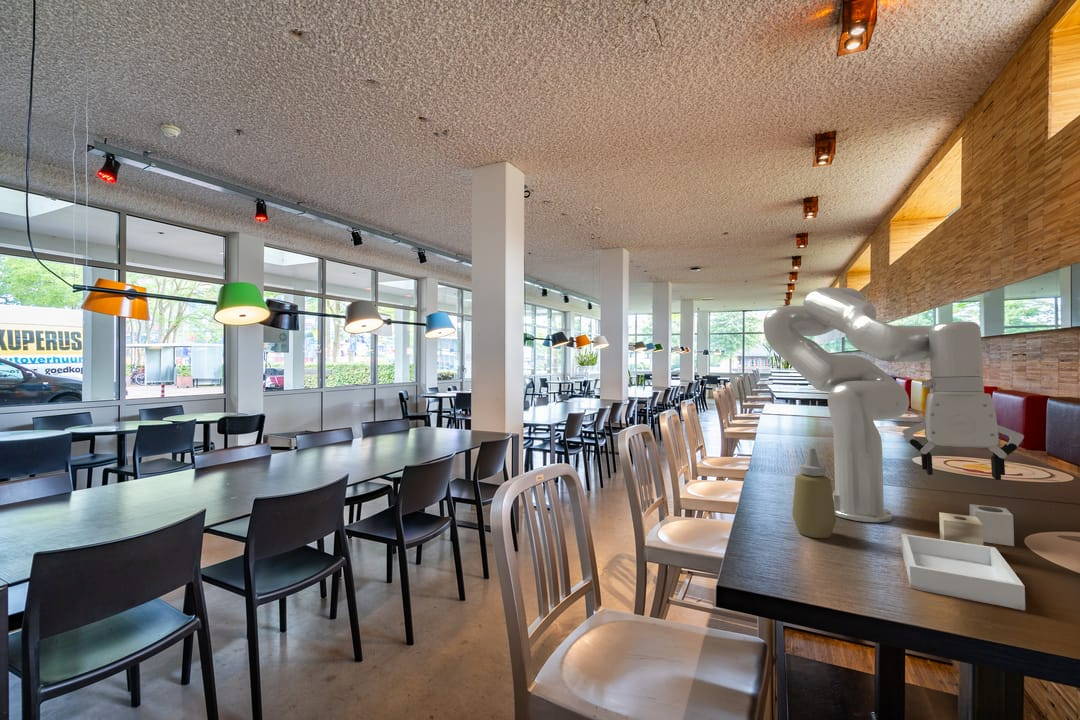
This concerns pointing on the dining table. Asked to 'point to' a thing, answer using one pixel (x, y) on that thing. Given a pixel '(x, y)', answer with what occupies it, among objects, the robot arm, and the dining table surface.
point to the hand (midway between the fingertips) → (962, 476)
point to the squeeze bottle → (813, 499)
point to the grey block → (995, 524)
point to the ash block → (961, 528)
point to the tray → (961, 571)
